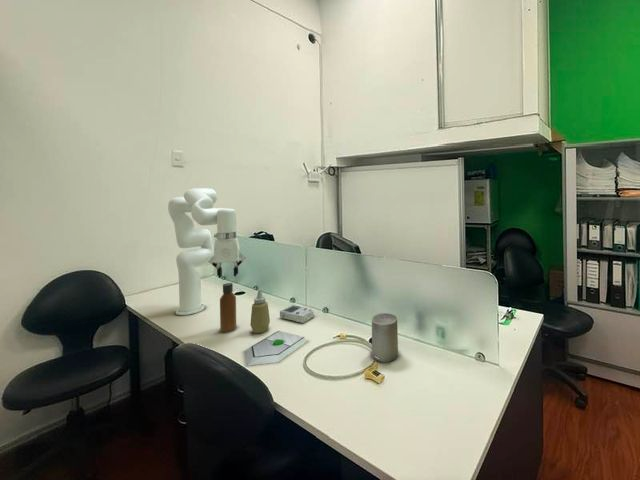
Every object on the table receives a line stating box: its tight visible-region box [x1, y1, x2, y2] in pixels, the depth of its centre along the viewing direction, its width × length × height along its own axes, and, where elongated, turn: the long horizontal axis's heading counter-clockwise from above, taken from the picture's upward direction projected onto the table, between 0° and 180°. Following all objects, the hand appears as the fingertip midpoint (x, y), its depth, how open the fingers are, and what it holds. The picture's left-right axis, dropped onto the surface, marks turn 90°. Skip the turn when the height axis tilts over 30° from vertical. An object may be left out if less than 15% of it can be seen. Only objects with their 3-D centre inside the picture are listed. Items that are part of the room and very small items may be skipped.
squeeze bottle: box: [249, 289, 271, 334], centre depth 131 cm, size 8×8×18 cm
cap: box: [222, 282, 234, 294], centre depth 133 cm, size 4×4×4 cm
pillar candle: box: [370, 312, 399, 363], centre depth 110 cm, size 10×10×15 cm
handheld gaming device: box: [279, 304, 315, 324], centre depth 144 cm, size 9×15×4 cm, turn 63°
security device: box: [244, 330, 307, 366], centre depth 115 cm, size 17×22×2 cm
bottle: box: [219, 292, 237, 334], centre depth 133 cm, size 6×6×20 cm
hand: (227, 276), depth 133 cm, fingers open, 5 cm apart
